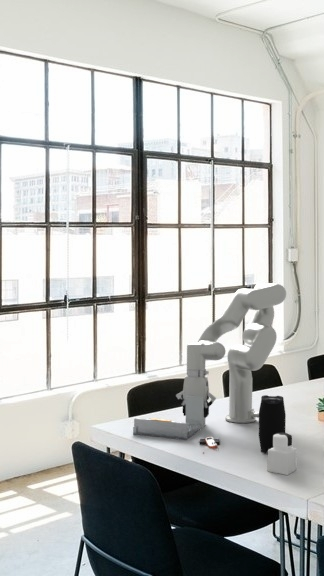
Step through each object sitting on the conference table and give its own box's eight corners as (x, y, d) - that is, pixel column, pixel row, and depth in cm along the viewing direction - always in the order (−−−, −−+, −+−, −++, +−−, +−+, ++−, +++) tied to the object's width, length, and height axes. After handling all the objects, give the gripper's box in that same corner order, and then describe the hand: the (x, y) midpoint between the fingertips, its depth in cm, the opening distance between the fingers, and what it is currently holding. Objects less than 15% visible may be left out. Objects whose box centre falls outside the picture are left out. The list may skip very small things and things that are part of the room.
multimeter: (229, 457, 245) (229, 447, 245) (195, 455, 246) (195, 445, 246) (232, 443, 262) (232, 434, 262) (199, 442, 264) (199, 433, 264)
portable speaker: (254, 450, 252) (254, 395, 251) (277, 447, 255) (277, 393, 255) (266, 456, 244) (266, 400, 243) (289, 453, 247) (290, 398, 247)
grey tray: (200, 430, 280) (200, 414, 279) (186, 440, 265) (186, 423, 265) (149, 425, 288) (149, 409, 287) (133, 434, 273) (133, 418, 273)
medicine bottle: (276, 466, 233) (277, 430, 233) (296, 469, 229) (297, 433, 229) (267, 471, 227) (267, 434, 227) (287, 475, 223) (288, 438, 223)
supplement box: (203, 428, 282) (203, 397, 282) (185, 427, 284) (185, 396, 283) (206, 424, 290) (206, 393, 289) (188, 423, 291) (188, 392, 290)
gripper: (219, 373, 286) (218, 416, 287) (179, 370, 292) (178, 412, 293) (213, 376, 279) (213, 420, 280) (172, 373, 285) (172, 416, 286)
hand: (195, 415), depth 286 cm, fingers closed on supplement box, 8 cm apart
